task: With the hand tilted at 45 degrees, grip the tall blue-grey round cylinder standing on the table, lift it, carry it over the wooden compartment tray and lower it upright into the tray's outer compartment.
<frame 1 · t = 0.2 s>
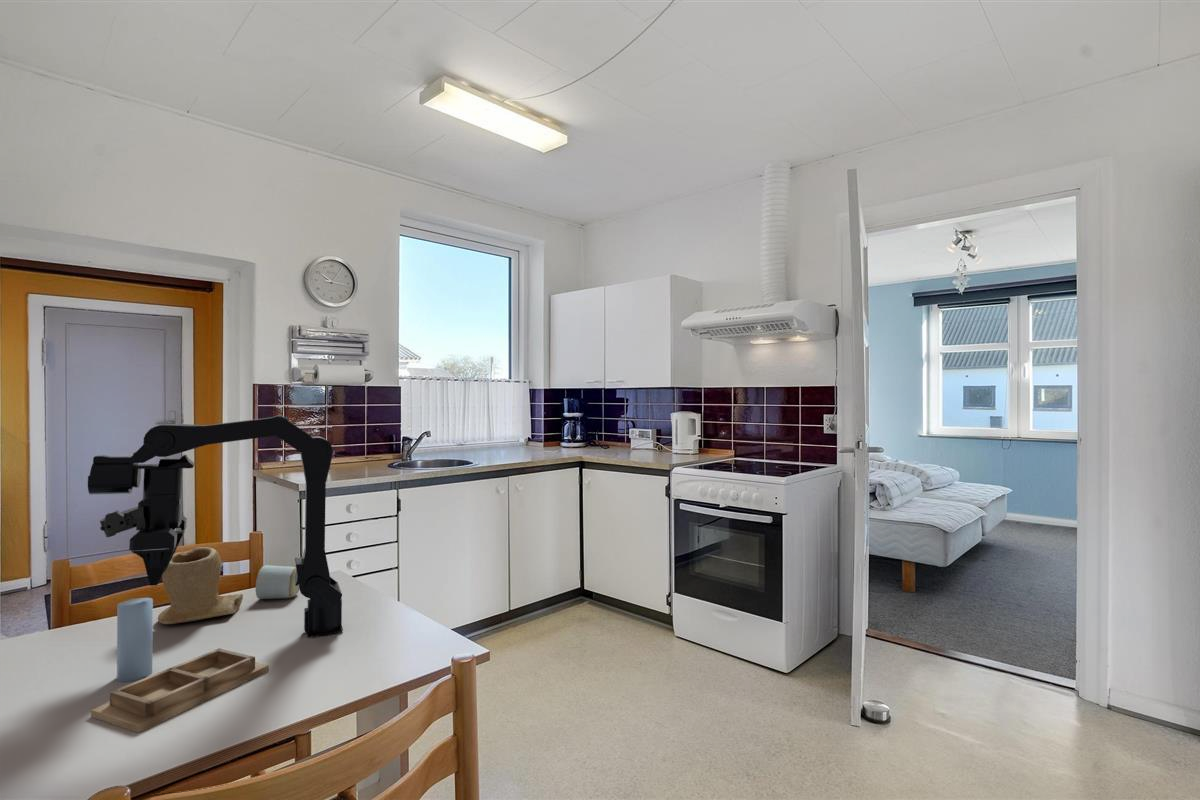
hand: (158, 578, 109), 15 cm above the table, tool pointing down, fingers open, 9 cm apart
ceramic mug: (280, 596, 144), on the table
wooden compartment tray: (187, 691, 97), on the table
blue-grey round cylinder: (134, 675, 102), on the table
stone cup: (200, 619, 129), on the table
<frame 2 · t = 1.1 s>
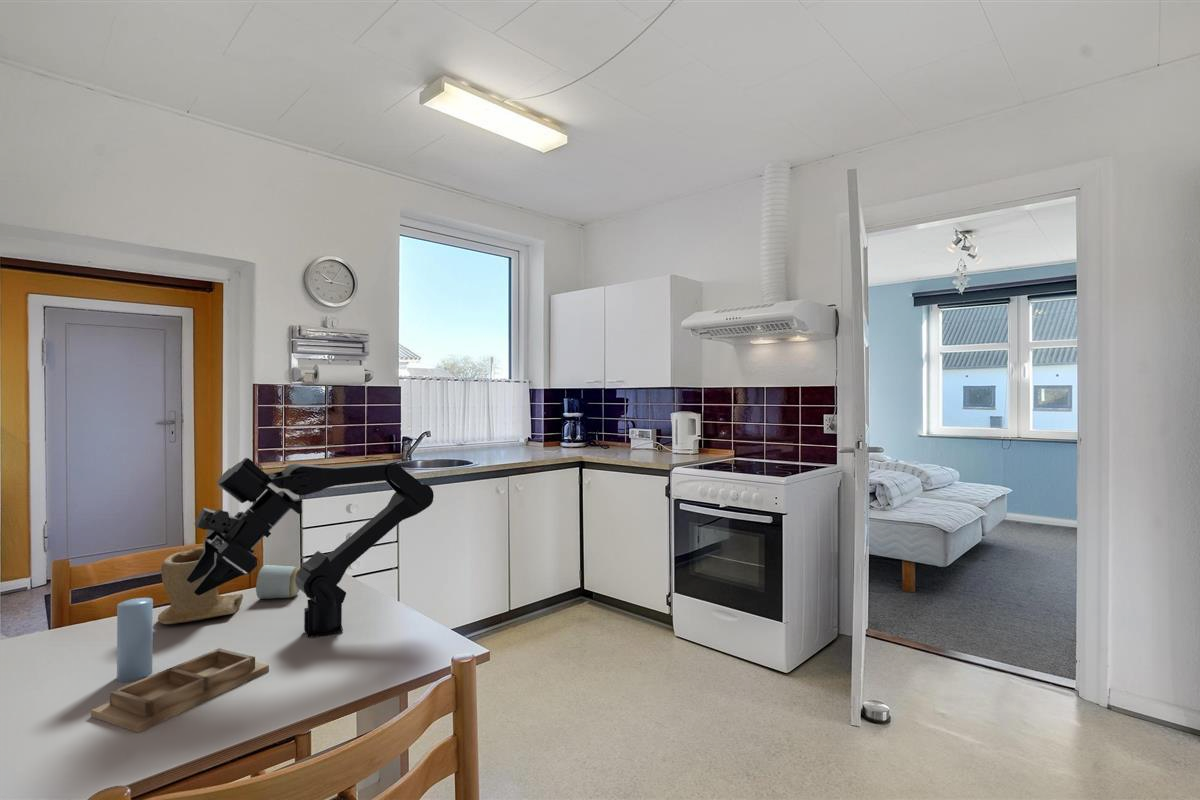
hand: (192, 587, 108), 13 cm above the table, tool tilted 45°, fingers open, 9 cm apart
nothing on the table moved.
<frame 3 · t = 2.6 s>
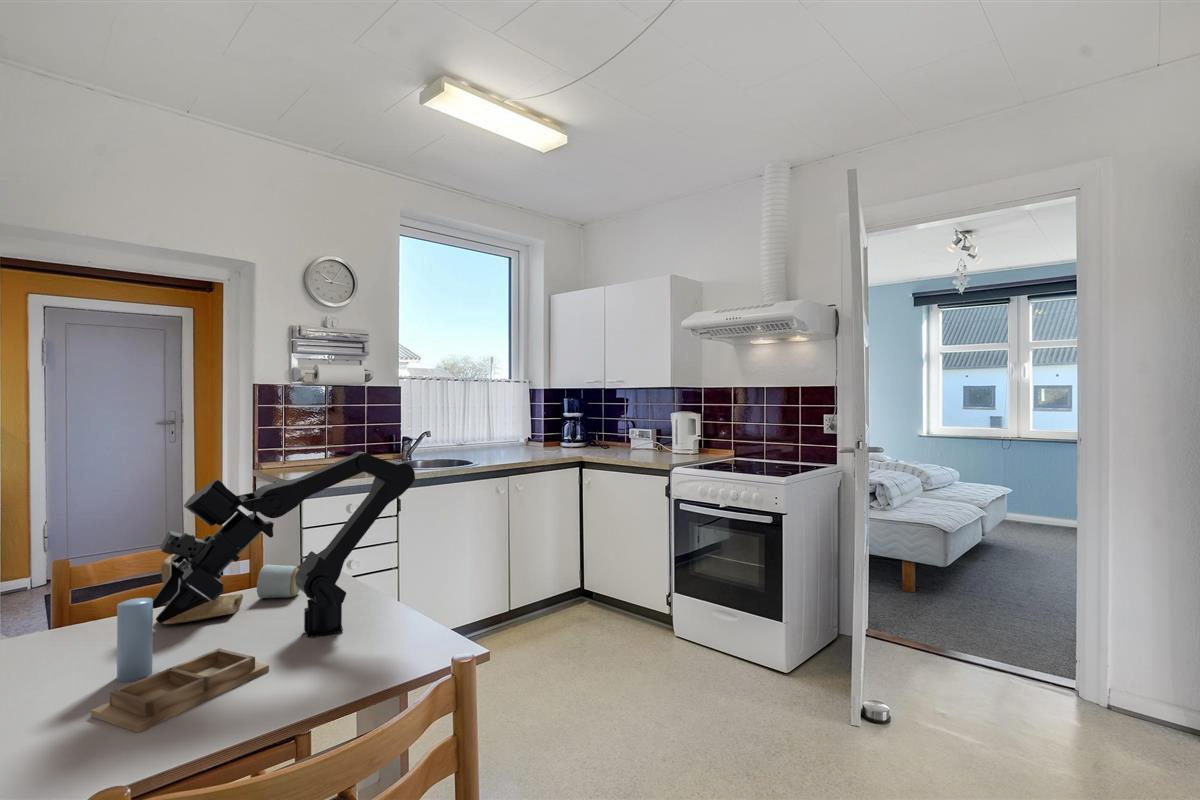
hand: (155, 613, 104), 10 cm above the table, tool tilted 45°, fingers open, 9 cm apart
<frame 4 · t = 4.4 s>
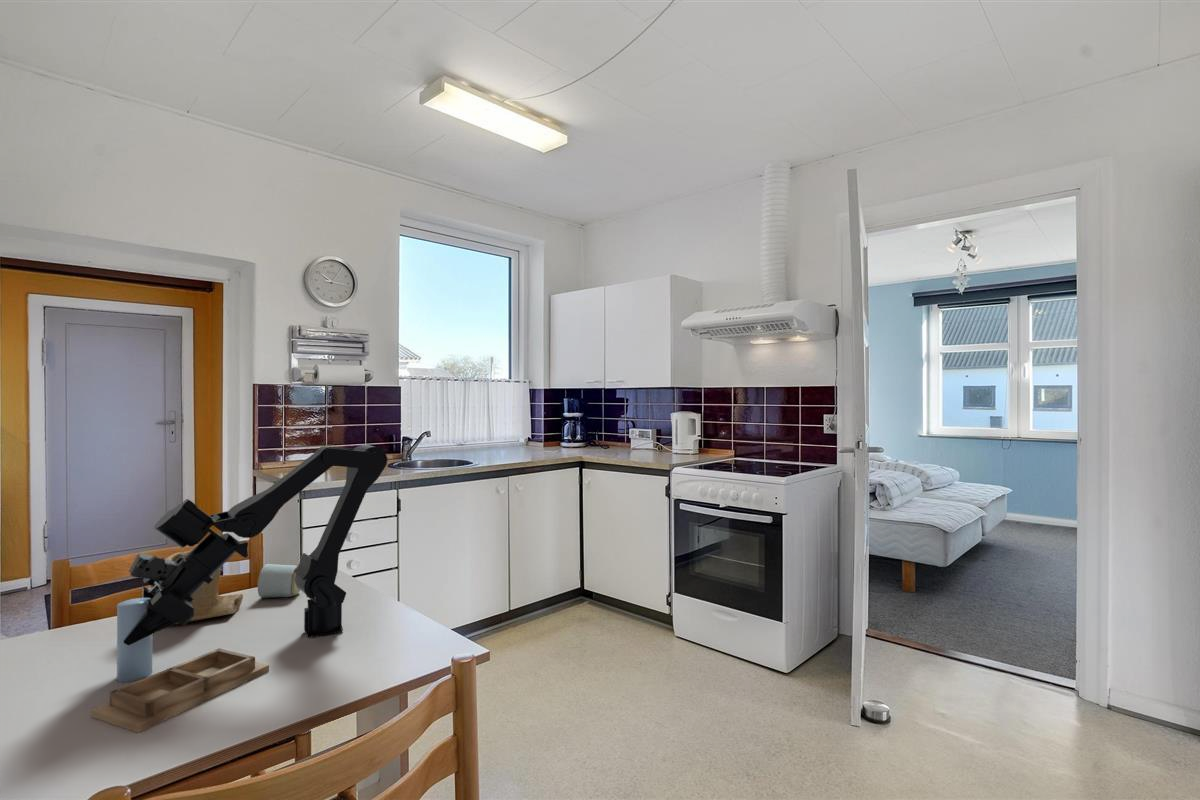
hand: (124, 638, 101), 7 cm above the table, tool tilted 45°, fingers closed on blue-grey round cylinder, 5 cm apart
blue-grey round cylinder: (134, 675, 102), on the table, touching gripper
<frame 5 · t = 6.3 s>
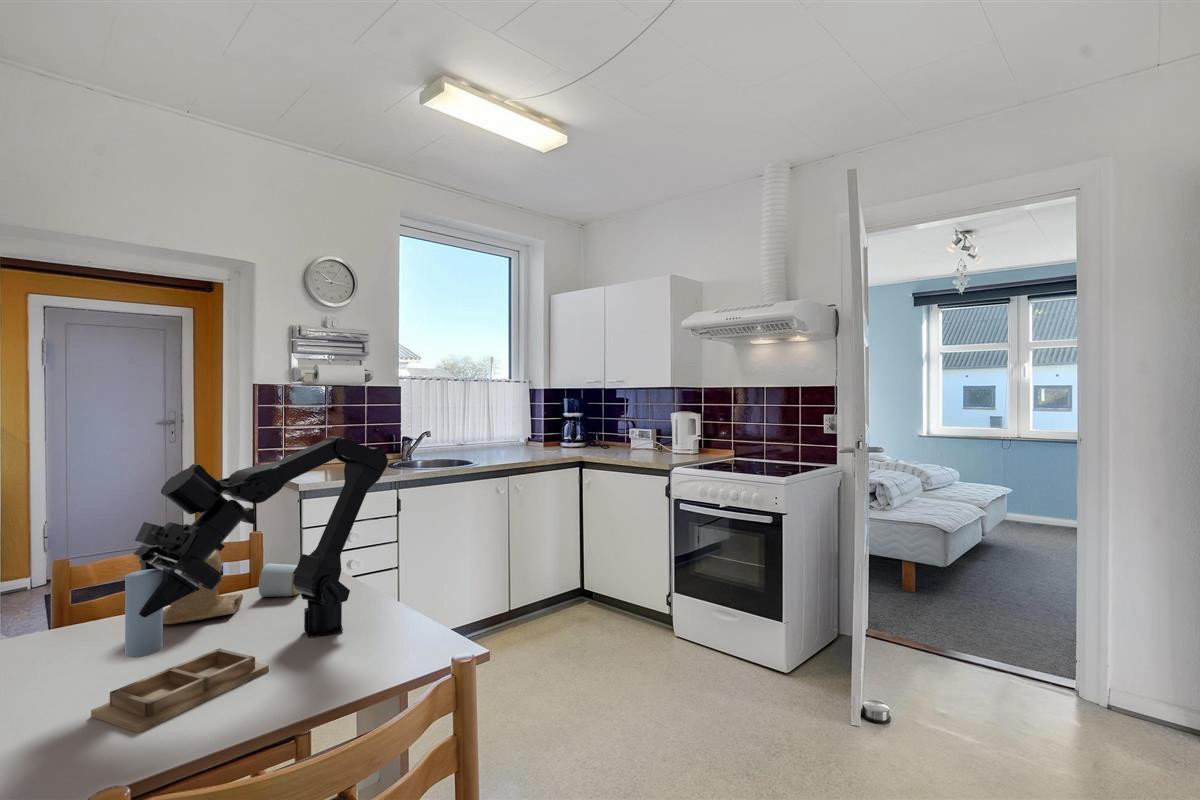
hand: (134, 612, 95), 13 cm above the table, tool tilted 45°, fingers closed on blue-grey round cylinder, 5 cm apart
blue-grey round cylinder: (144, 651, 96), point 7 cm above the table, touching gripper
when the fingers open (9 cm above the table, at t = 8.4 s): blue-grey round cylinder drops 2 cm, resting on wooden compartment tray.
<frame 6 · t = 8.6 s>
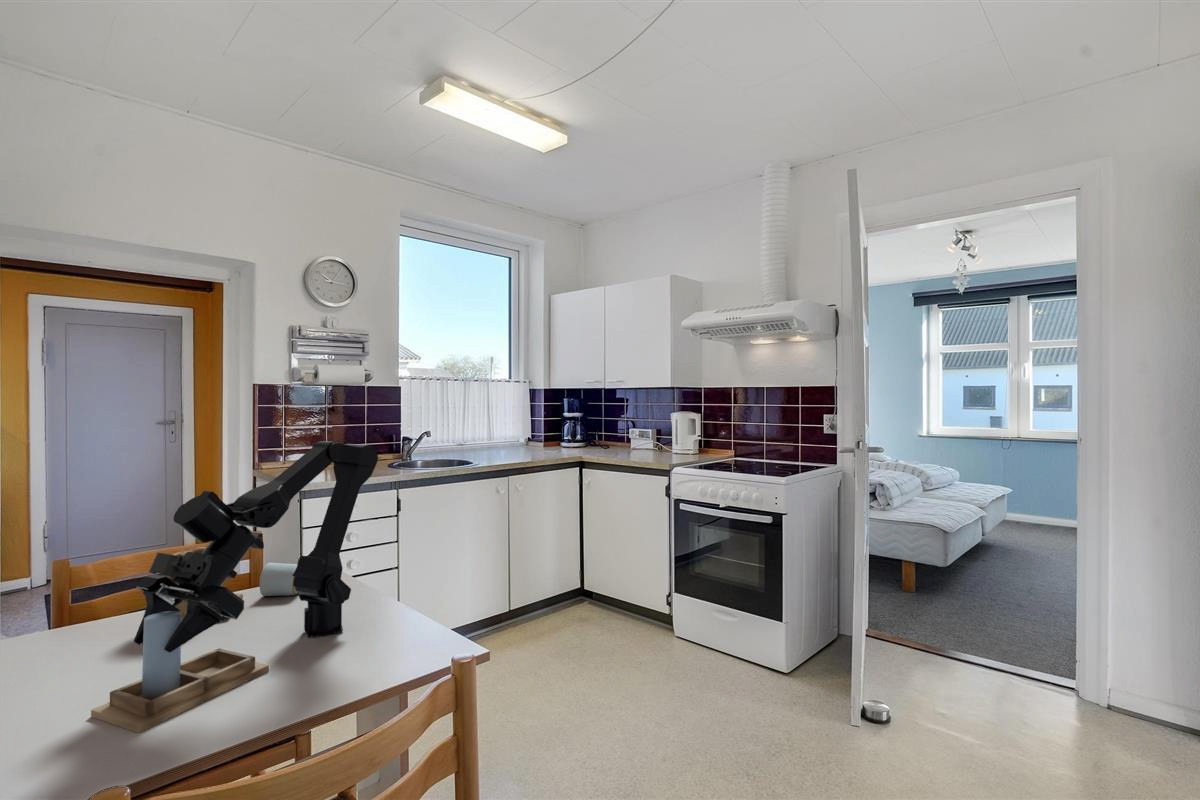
hand: (151, 647, 92), 9 cm above the table, tool tilted 45°, fingers open, 7 cm apart
blue-grey round cylinder: (160, 696, 93), point 1 cm above the table, touching wooden compartment tray
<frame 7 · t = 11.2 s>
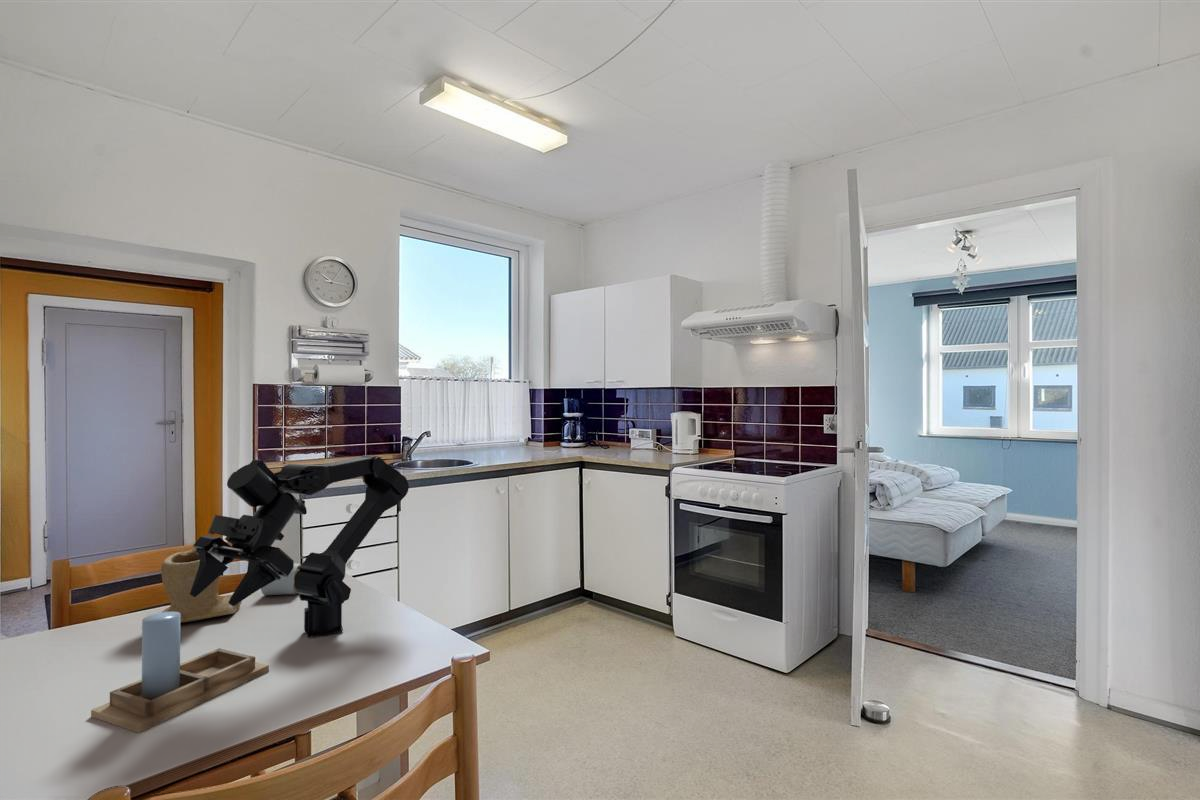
hand: (211, 600, 101), 14 cm above the table, tool tilted 45°, fingers open, 9 cm apart
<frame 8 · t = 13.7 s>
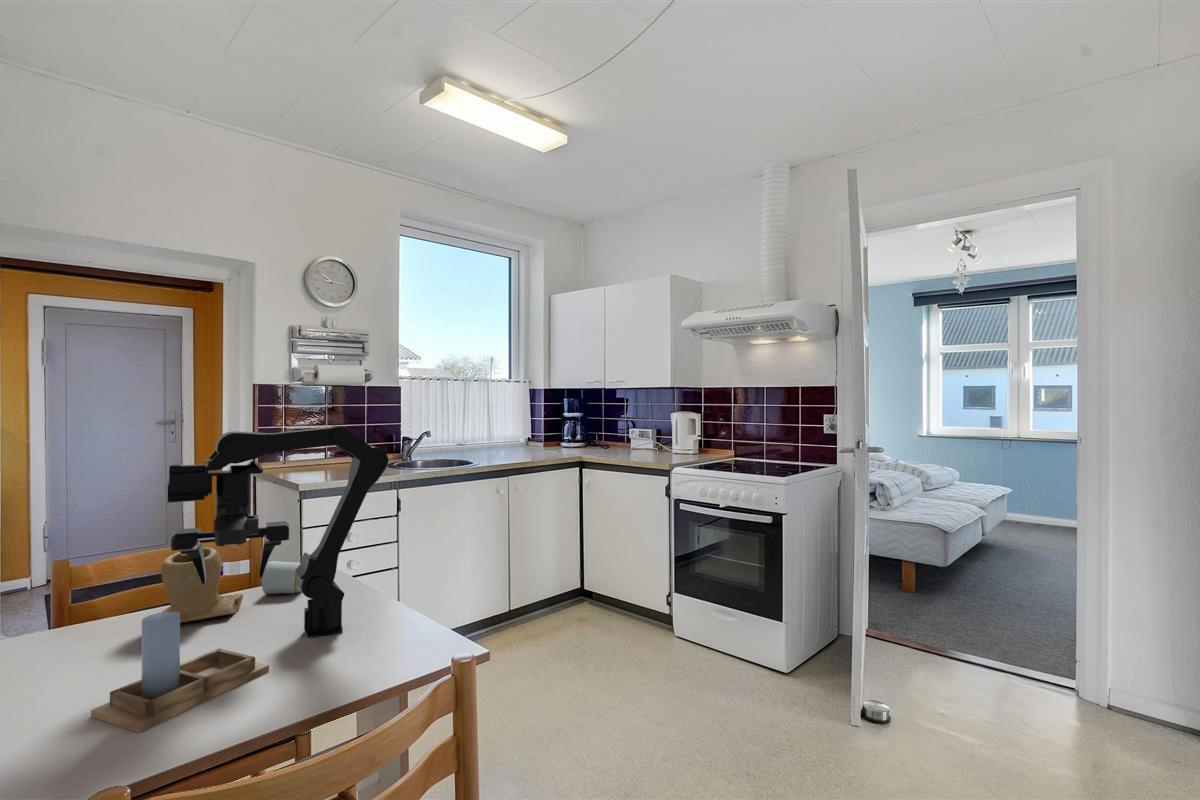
hand: (232, 580, 113), 13 cm above the table, tool pointing down, fingers open, 9 cm apart
at the end: blue-grey round cylinder 0.1 cm from the target spot on the wooden compartment tray, point 1.0 cm above the wooden compartment tray's base; blue-grey round cylinder tilted 0°; the gripper is holding nothing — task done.
